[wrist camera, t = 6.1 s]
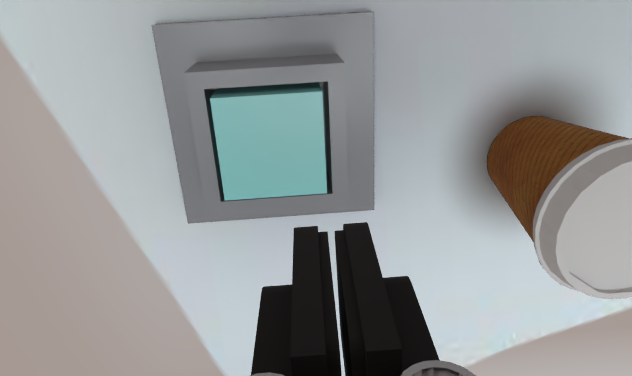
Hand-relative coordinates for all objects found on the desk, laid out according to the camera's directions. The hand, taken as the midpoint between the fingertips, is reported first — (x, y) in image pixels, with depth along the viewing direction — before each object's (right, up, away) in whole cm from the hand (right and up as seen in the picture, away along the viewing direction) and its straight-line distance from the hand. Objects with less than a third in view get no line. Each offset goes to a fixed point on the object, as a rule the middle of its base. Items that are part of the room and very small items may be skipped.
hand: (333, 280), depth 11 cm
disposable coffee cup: (+16, +5, +25) cm, 30 cm away
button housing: (-3, +7, +22) cm, 24 cm away
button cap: (-3, +6, +21) cm, 22 cm away
